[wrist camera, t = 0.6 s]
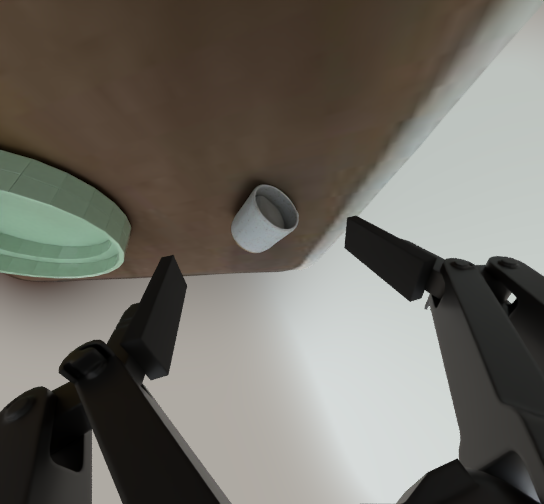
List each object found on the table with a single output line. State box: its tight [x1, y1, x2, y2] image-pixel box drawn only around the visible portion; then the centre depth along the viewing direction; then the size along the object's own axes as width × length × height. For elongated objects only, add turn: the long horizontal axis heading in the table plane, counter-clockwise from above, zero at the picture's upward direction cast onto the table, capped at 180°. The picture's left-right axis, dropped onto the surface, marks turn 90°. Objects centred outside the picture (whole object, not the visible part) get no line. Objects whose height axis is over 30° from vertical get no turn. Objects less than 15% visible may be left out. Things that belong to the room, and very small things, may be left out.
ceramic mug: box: [231, 184, 299, 253], centre depth 29 cm, size 11×8×8 cm
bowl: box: [0, 150, 131, 278], centre depth 24 cm, size 19×19×6 cm
